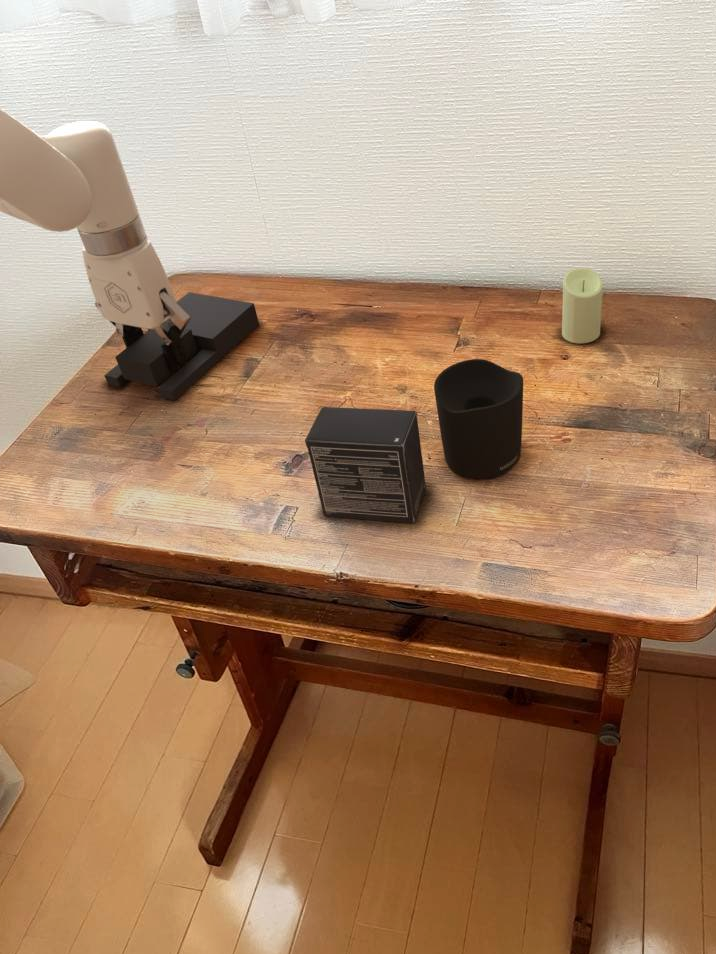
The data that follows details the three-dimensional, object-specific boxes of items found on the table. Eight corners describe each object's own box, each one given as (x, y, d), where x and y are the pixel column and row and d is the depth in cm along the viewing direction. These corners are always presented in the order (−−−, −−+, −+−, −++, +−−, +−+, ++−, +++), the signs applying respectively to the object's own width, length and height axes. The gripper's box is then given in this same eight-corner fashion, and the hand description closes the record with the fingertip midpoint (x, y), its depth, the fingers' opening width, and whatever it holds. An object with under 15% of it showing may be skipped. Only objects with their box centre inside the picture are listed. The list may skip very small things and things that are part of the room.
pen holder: (446, 488, 92) (439, 415, 85) (437, 437, 98) (429, 365, 91) (531, 477, 91) (531, 402, 84) (516, 426, 98) (514, 353, 91)
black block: (157, 387, 111) (149, 364, 108) (123, 379, 113) (114, 356, 111) (198, 351, 116) (191, 329, 114) (165, 344, 118) (157, 322, 116)
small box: (428, 484, 92) (419, 407, 85) (415, 525, 88) (405, 447, 81) (338, 478, 95) (321, 402, 88) (321, 517, 90) (302, 441, 83)
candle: (605, 339, 109) (609, 281, 103) (569, 347, 109) (571, 289, 103) (591, 321, 113) (594, 264, 107) (556, 328, 112) (557, 272, 107)
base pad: (174, 400, 110) (166, 378, 108) (107, 384, 115) (98, 362, 112) (259, 324, 122) (254, 303, 120) (195, 312, 127) (189, 291, 124)
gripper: (41, 240, 103) (95, 364, 115) (147, 256, 96) (192, 387, 108) (82, 214, 107) (130, 336, 120) (187, 228, 100) (226, 356, 113)
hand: (159, 359), depth 114 cm, fingers closed on black block, 6 cm apart
